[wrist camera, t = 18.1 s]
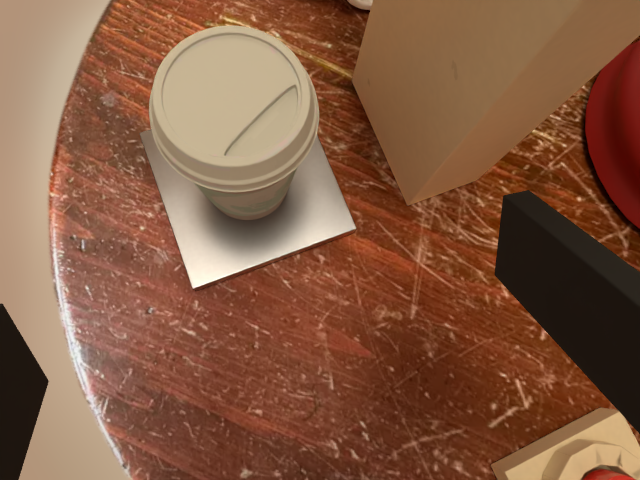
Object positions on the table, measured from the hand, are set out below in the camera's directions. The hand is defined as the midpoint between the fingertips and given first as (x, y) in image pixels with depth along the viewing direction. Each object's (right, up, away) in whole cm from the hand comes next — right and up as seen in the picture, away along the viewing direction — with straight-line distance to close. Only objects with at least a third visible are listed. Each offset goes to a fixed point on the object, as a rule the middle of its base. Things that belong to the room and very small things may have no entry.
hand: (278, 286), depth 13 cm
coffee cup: (-4, +5, +22) cm, 23 cm away
